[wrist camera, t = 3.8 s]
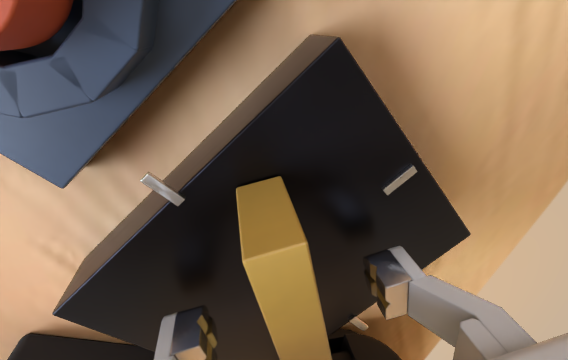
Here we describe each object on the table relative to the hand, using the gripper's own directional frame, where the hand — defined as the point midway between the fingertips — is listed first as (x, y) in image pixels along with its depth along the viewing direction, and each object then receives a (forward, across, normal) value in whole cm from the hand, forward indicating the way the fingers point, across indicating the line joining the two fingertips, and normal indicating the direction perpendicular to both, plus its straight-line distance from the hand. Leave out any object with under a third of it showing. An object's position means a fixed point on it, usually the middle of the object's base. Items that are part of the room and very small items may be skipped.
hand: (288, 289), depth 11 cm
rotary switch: (+4, 0, 0) cm, 4 cm away
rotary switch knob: (+1, 0, 0) cm, 1 cm away
